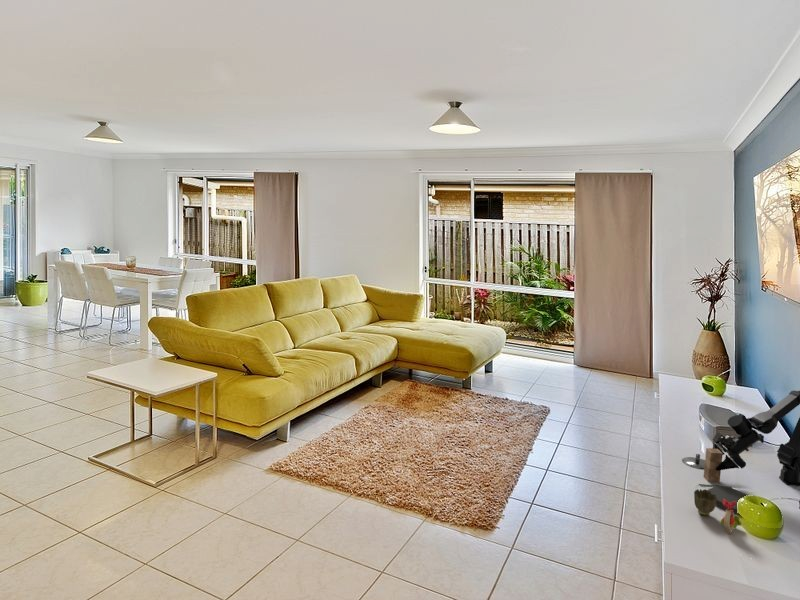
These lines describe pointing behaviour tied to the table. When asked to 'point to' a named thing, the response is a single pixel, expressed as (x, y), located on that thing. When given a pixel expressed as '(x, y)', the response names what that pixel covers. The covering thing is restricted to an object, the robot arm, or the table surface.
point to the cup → (704, 501)
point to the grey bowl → (694, 462)
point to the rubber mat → (712, 486)
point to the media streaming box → (726, 496)
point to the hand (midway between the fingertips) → (711, 464)
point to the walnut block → (712, 465)
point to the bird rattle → (730, 517)
